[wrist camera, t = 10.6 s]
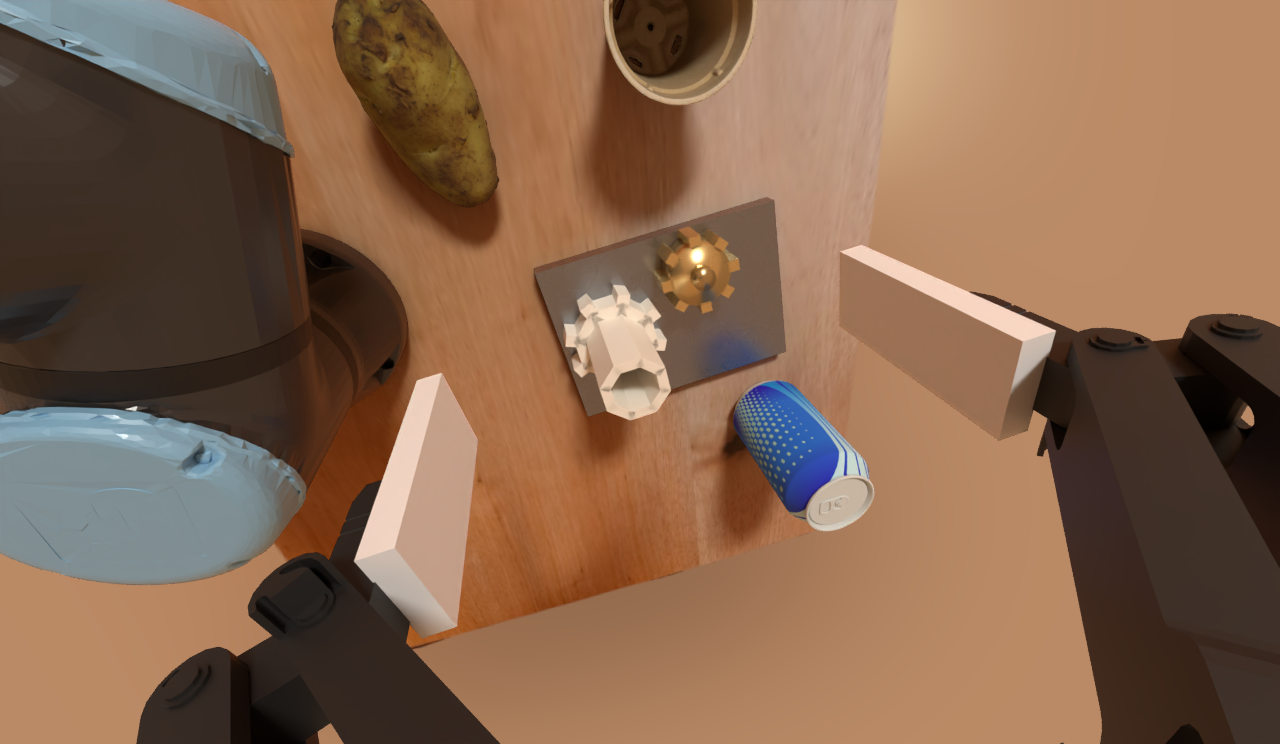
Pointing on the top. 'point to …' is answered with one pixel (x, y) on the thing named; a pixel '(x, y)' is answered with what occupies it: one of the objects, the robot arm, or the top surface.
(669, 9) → the flower pot
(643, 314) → the planet gear
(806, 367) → the top surface
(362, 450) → the top surface
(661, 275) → the plate
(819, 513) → the beer can
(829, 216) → the top surface
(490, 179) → the potato
